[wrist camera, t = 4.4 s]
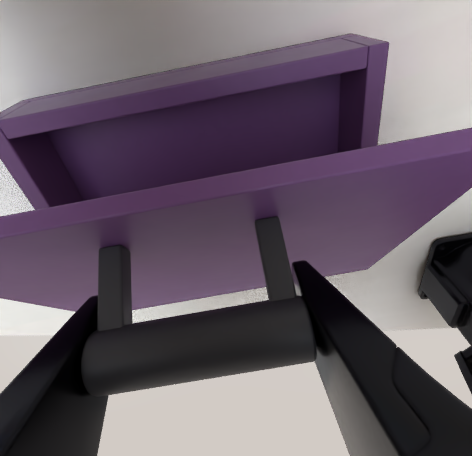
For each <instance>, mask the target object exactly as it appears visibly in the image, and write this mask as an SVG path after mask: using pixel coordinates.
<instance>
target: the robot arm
mask: <svg viewBox="0 0 472 456" xmlns="http://www.w3.org/2000/svg"><path fill="white" fill-rule="evenodd" d="M292 277H293V281H294V285H295V290H296V294H297V295H300V296H302V297H303V299H304V301H305V303H306V305H307V307H308V310H309V314H310V317H311V321H312V325H313V330H314V335H315V340H316V347H317V357H316V360H315V363H316V366H317V369H318V371H319V374H320V377H321V379H322V382H323V385H324V387H325V390H326V393H327V395H328V398H329V401H330V404H331V406H332V409H333V411H334V414H335V417H336V420H337V422H338V425H339V428H340V430H341V433H342V435H343V438H344V441H345V444H346V446H347V449H348V452H349V454H350V456H472V409H471V408H470V407H469V406H467V405H466V404H464V403H463V402H462V401H461V400H459V399H458V398H457V397H456V396H455V395H453V394H452V393H451V392H450V391H448V390H447V389H446V388H445V387H443V386H442V385H441V384H440V383H439V382H437V381H436V380H435V379H434V378H432V377H431V376H430V375H429V374H428V373H426V372H425V371H424V370H423V369H422V368H421V367H420V366H419V365H418V364H416V363H415V362H414V361H413V360H412V359H411V358H410V357H409V356H408V355H407V354H405V352H404V351H403V350H402V349H400V348H399V347H397V348H396V344H395V343H394V342H393V341H392V340H391V339H390V338H389V337H387V336H386V335H385V334H384V333H383V332H382V331H381V330H380V329H379V328H378V327H377V326H376V325H375V324H374V323H372V322H371V321H370V320H369V319H368V318H367V317H366V316H365V315H364V314H363V313H362V312H361V311H360V310H359V309H358V308H356V307H355V306H354V305H353V304H352V303H351V302H350V301H349V300H348V299H347V298H346V297H345V296H344V295H343V294H341V293H340V292H339V291H338V290H337V289H336V288H335V287H334V286H333V285H332V284H331V283H330V282H329V281H328V280H327V279H325V278H324V277H323V276H322V275H321V274H320V273H319V272H318V271H317V270H316V269H315V268H314V267H313V266H312V265H310V264H309V263H308V262H307V261H306V260H301V261H295V262H293V263H292ZM418 294H419V296H420V297H421V298H422V299H428V298H429V299H430V301H431V302H432V303H433V305H434V306H435V307H436V309H437V310H438V311H439V313H440V314H441V316H442V317H443V318H444V320H445V321H446V322H447V324H448V325H449V326H451V327H452V328H458V329H459V330H460V332H461V333H462V335H463V336H464V337H465V339H467V341H468V342H469V344H470V345H471V346H470V347H469V348H467V349H465V350H464V351H460V352H458V353H457V354H455V355H454V356H455V359H456V361H457V363H458V365H459V368H460V370H461V372H462V374H463V376H464V379H465V381H466V383H467V385H468V387H469V389H470V391H471V394H472V233H471V234H465V235H460V236H454V237H448V238H443V239H438V240H436V241H435V242H434V243H433V244H432V247H431V250H430V254H429V257H428V261H427V264H426V267H425V271H424V274H423V278H422V281H421V285H420V288H419V292H418ZM97 327H98V295H95V296H91V297H90V298H88V299H87V301H86V302H85V303H84V304H83V305H82V306H81V307H80V308H79V309H78V310H77V311H76V312H75V314H74V315H73V316H72V317H71V318H70V319H69V320H68V321H67V322H66V323H65V324H64V325H63V326H62V328H61V329H60V330H59V331H58V332H57V333H56V334H55V335H54V336H53V337H52V339H50V341H49V342H48V343H47V344H46V345H45V346H44V347H43V348H42V349H41V350H40V352H38V354H37V355H36V356H35V357H34V358H33V359H32V360H31V361H30V362H29V363H28V364H27V365H26V367H25V368H24V369H23V370H22V371H21V372H20V373H19V374H18V375H17V376H16V377H15V378H14V380H13V381H12V382H11V383H10V384H9V385H8V386H7V387H6V388H5V389H4V391H2V393H1V394H0V456H97V453H98V448H99V442H100V437H101V432H102V427H103V421H104V416H105V411H106V405H107V400H108V395H106V396H100V397H96V396H93V395H91V394H90V393H89V392H88V391H87V390H86V388H85V386H84V383H83V380H82V374H81V357H82V351H83V348H84V345H85V342H86V340H87V338H88V337H89V336H90V334H92V333H93V332H94V331H96V330H97Z"/></svg>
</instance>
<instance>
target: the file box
mask: <svg viewBox="0 0 472 456" xmlns="http://www.w3.org/2000/svg"><path fill="white" fill-rule="evenodd" d="M388 49H389V42H386V41H382V40H377V39H373V38H368V37H364V36H360V35H355V34H347V35H342V36H337V37H332V38H327V39H322V40H317V41H312V42H307V43H302V44H298V45H293V46H288V47H283V48H278V49H273V50H268V51H263V52H258V53H253V54H248V55H243V56H238V57H233V58H229V59H224V60H219V61H214V62H209V63H204V64H199V65H194V66H189V67H184V68H179V69H174V70H169V71H164V72H160V73H155V74H150V75H145V76H140V77H135V78H130V79H125V80H120V81H115V82H110V83H105V84H100V85H96V86H91V87H86V88H81V89H76V90H71V91H66V92H61V93H56V94H51V95H46V96H41V97H36V98H31V99H27V100H22V101H20V102H19V103H17V104H15V105H13V106H11V107H9V108H8V109H6V110H4V111H2V112H0V159H1V160H2V162H3V163H4V165H5V166H6V168H7V169H8V171H9V172H10V174H11V175H12V176H13V178H14V179H15V181H16V182H17V184H18V185H19V187H20V188H21V190H22V191H23V193H24V194H25V196H26V197H27V198H28V200H29V201H30V203H31V204H32V206H33V207H34V209H35V210H38V209H43V208H49V207H54V206H59V205H65V204H70V203H75V202H81V201H86V200H91V199H97V198H102V197H107V196H112V195H118V194H123V193H128V192H134V191H139V190H144V189H150V188H155V187H160V186H165V185H171V184H176V183H181V182H187V181H192V180H197V179H203V178H208V177H213V176H218V175H224V174H229V173H234V172H240V171H245V170H250V169H256V168H261V167H266V166H271V165H277V164H282V163H287V162H293V161H298V160H303V159H309V158H314V157H319V156H324V155H330V154H335V153H340V152H346V151H351V150H356V149H362V148H367V147H372V146H377V143H378V134H379V125H380V117H381V108H382V100H383V91H384V83H385V74H386V66H387V57H388Z"/></svg>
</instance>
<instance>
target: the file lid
mask: <svg viewBox="0 0 472 456" xmlns="http://www.w3.org/2000/svg"><path fill="white" fill-rule="evenodd" d="M470 188H472V128H468V129H462V130H457V131H452V132H446V133H441V134H436V135H431V136H425V137H420V138H415V139H409V140H404V141H399V142H393V143H388V144H383V145H378V146H372V147H367V148H362V149H356V150H351V151H346V152H340V153H335V154H330V155H324V156H319V157H314V158H309V159H303V160H298V161H293V162H287V163H282V164H277V165H271V166H266V167H261V168H256V169H250V170H245V171H240V172H234V173H229V174H224V175H218V176H213V177H208V178H203V179H197V180H192V181H187V182H181V183H176V184H171V185H165V186H160V187H155V188H150V189H144V190H139V191H134V192H128V193H123V194H118V195H112V196H107V197H102V198H97V199H91V200H86V201H81V202H75V203H70V204H65V205H59V206H54V207H49V208H43V209H38V210H33V211H28V212H22V213H17V214H12V215H6V216H1V217H0V298H3V299H8V300H14V301H19V302H25V303H31V304H36V305H42V306H47V307H53V308H58V309H64V310H70V311H75V312H76V311H77V310H78V309H79V308H80V307H81V306H82V305H83V304H84V303H85V302H86V301H87V299H88V298H90V297H91V296H95V295H98V327H97V330H96V331H94V332H93V333H92V334H90V336H89V337H88V338H87V340H86V342H85V345H84V348H83V351H82V357H81V374H82V380H83V383H84V386H85V388H86V390H87V391H88V392H89V393H90V394H91V395H93V396H96V397H100V396H106V395H112V394H118V393H124V392H130V391H136V390H142V389H149V388H155V387H161V386H167V385H173V384H179V383H185V382H191V381H197V380H203V379H209V378H216V377H222V376H228V375H234V374H240V373H247V372H253V371H259V370H265V369H271V368H277V367H283V366H289V365H295V364H302V363H307V362H313V361H315V360H316V357H317V347H316V340H315V335H314V330H313V325H312V321H311V317H310V314H309V310H308V307H307V305H306V303H305V301H304V299H303V297H302V296H300V295H297V294H296V290H295V285H294V281H293V277H292V263H293V262H295V261H301V260H306V261H307V262H308V263H309V264H310V265H312V266H313V267H314V268H315V269H316V270H317V271H318V272H319V273H320V274H321V275H322V276H323V277H326V276H332V275H337V274H343V273H349V272H355V271H360V270H366V269H368V268H370V267H371V266H372V265H374V264H375V263H376V262H377V261H379V260H380V259H381V258H382V257H384V256H385V255H386V254H388V253H389V252H390V251H391V250H393V249H394V248H395V247H396V246H398V245H399V244H400V243H402V242H403V241H404V240H405V239H407V238H408V237H409V236H411V235H412V234H413V233H414V232H416V231H417V230H418V229H419V228H421V227H422V226H423V225H425V224H426V223H427V222H428V221H430V220H431V219H432V218H433V217H435V216H436V215H437V214H439V213H440V212H441V211H442V210H444V209H445V208H446V207H448V206H449V205H450V204H451V203H453V202H454V201H455V200H456V199H458V198H459V197H460V196H462V195H463V194H464V193H465V192H467V191H468V190H469V189H470ZM262 287H266V288H267V293H268V298H269V300H267V301H261V302H255V303H250V304H244V305H238V306H232V307H226V308H221V309H215V310H209V311H203V312H197V313H191V314H186V315H180V316H174V317H168V318H162V319H157V320H151V321H145V322H139V323H133V324H132V310H136V309H142V308H147V307H153V306H159V305H165V304H170V303H176V302H182V301H188V300H193V299H199V298H205V297H211V296H216V295H222V294H228V293H234V292H239V291H245V290H251V289H257V288H262Z"/></svg>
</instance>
